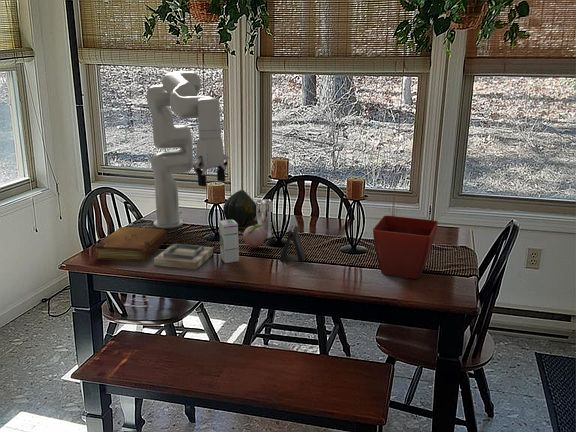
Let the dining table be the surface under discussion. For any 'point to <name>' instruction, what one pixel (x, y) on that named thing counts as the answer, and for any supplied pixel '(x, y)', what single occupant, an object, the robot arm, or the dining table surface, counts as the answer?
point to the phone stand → (298, 246)
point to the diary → (131, 244)
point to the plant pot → (403, 245)
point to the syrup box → (229, 241)
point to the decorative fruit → (254, 235)
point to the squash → (240, 208)
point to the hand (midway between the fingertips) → (211, 183)
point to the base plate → (183, 256)
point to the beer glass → (264, 215)
